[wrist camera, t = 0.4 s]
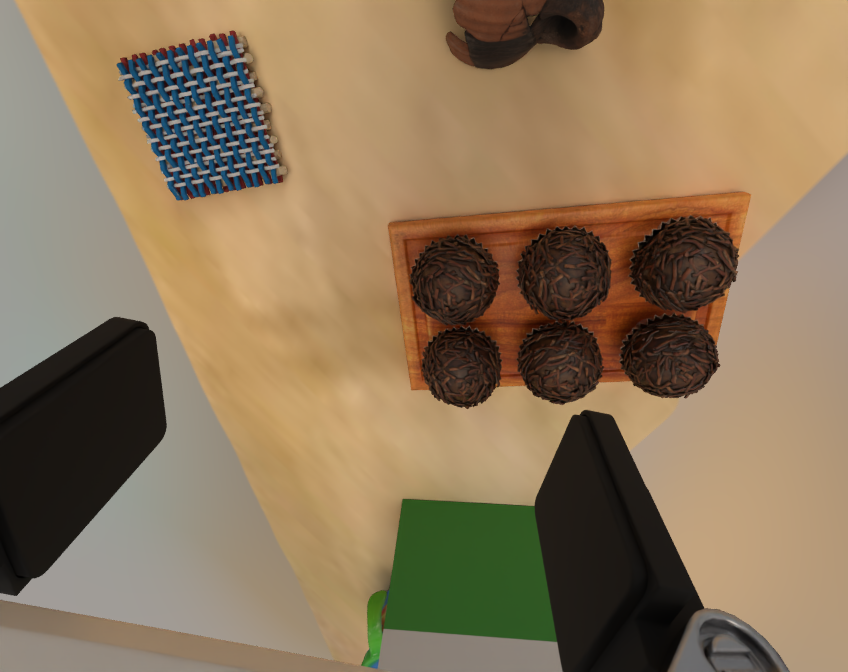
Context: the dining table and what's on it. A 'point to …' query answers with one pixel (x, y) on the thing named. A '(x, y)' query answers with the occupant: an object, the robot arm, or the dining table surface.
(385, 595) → the snack cup
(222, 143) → the woven mat
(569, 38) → the broken brown clay pot
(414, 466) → the dining table surface
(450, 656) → the hardback book
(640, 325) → the chocolate cupcake tray
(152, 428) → the robot arm
